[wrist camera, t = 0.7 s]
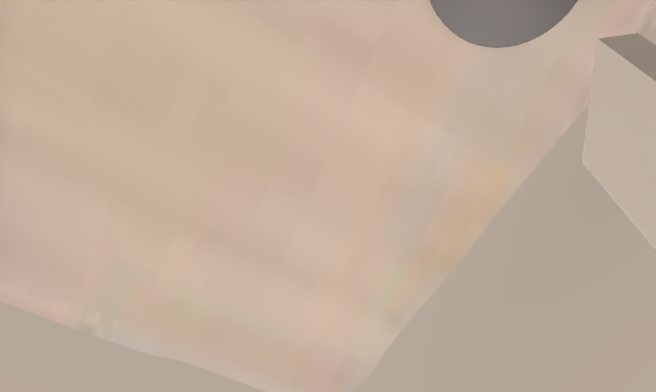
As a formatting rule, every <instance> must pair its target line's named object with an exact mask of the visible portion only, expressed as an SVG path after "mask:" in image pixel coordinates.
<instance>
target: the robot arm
mask: <svg viewBox="0 0 656 392" xmlns="http://www.w3.org/2000/svg"><path fill="white" fill-rule="evenodd" d="M581 162H582V163H583V164H584V166H585V167H586V168H587V169H588V170H589V171H590V173H591V174H592V175H593V176H594V177H595V179H597V181H598V182H599V183H600V185H601V186H602V187H603V188H604V189H605V190H606V192H607V193H608V194H609V195H610V196H611V197H612V199H613V200H614V201H615V202H616V204H617V205H618V206H619V207H620V208H621V209H622V211H623V212H624V213H625V214H626V215H627V217H628V218H629V219H630V220H631V221H632V222H633V223H634V225H635V226H636V227H637V228H638V230H639V231H640V232H641V233H642V234H643V236H644V237H645V238H646V239H647V240H648V241H649V243H650V244H651V245H652V246H653V247H654V248H655V250H656V45H655V44H653V43H652V42H650V41H648V40H647V39H646V38H644V37H642V36H641V35H639V34H638V33H636V34H629V35H622V36H615V37H607V38H600V39H598V42H597V49H596V57H595V64H594V72H593V79H592V87H591V94H590V102H589V109H588V117H587V125H586V132H585V139H584V147H583V154H582V161H581Z"/></svg>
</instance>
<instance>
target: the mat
mask: <svg viewBox="0 0 656 392" xmlns="http://www.w3.org/2000/svg"><path fill="white" fill-rule="evenodd" d="M430 1H431V4H432V6H433V8H434V10H435V12H436V14H437V15H438V16H439V18H440V19H441V20H442V22H443V23H444V24H445V25H446V26H447V27H448V28H449V29H450V30H451V31H452V32H453V33H454V34H456V35H457V36H459V37H460V38H462V39H464V40H466V41H468V42H470V43H473V44H476V45H479V46H484V47H494V48H500V47H510V46H515V45H519V44H522V43H525V42H528V41H530V40H533V39H535V38H537V37H539V36H540V35H542V34H544V33H545V32H547V31H549V30H550V29H551V28H552V27H554V26H555V25H556V24H558V23H559V22H560V21H561V20H562V19H563V18H564V17H565V16H566V15H567V14H568V12H569V11H570V10H571V9H572V8H573V6H574V5H575V3H576V2H577V1H578V0H430Z"/></svg>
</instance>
